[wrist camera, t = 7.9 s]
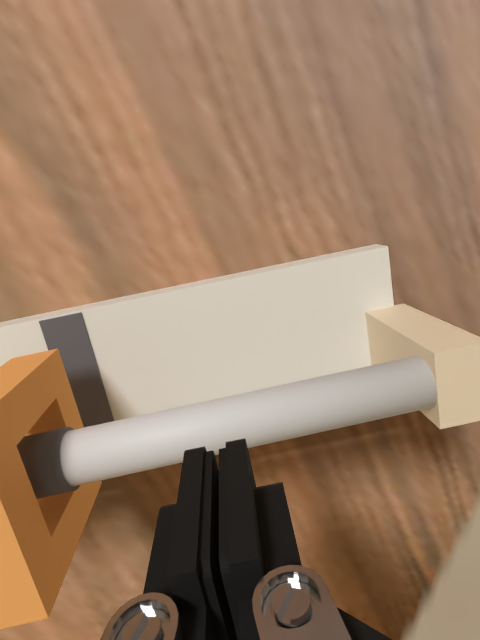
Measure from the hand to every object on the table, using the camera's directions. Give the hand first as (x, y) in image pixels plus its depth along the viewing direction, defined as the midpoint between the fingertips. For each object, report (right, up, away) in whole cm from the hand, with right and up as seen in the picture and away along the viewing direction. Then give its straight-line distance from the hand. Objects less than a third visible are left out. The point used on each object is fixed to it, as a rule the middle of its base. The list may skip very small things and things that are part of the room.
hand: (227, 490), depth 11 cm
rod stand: (-3, +2, +11) cm, 12 cm away
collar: (-8, 0, +7) cm, 11 cm away
